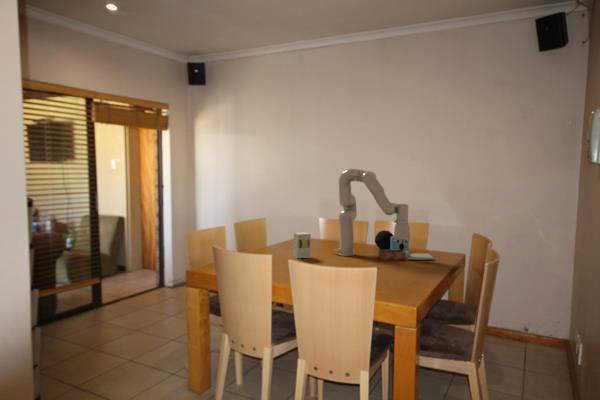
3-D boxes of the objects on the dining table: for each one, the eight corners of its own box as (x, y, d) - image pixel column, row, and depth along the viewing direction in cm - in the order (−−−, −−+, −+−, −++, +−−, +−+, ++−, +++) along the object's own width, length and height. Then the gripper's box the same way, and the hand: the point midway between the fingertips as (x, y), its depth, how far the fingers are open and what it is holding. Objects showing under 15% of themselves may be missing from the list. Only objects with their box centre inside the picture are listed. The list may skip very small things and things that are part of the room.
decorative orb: (368, 241, 318) (375, 226, 309) (384, 239, 324) (392, 225, 315) (377, 255, 308) (384, 240, 299) (393, 253, 314) (401, 239, 305)
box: (381, 260, 275) (381, 252, 275) (378, 256, 286) (378, 249, 286) (405, 260, 275) (405, 252, 274) (402, 256, 286) (402, 249, 285)
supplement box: (297, 259, 280) (297, 234, 278) (293, 256, 288) (293, 232, 287) (311, 258, 283) (310, 233, 281) (306, 255, 291) (306, 231, 290)
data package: (406, 252, 301) (406, 235, 301) (408, 253, 297) (408, 236, 296) (390, 252, 301) (390, 235, 300) (391, 253, 296) (392, 237, 295)
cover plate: (408, 260, 274) (408, 253, 274) (404, 256, 287) (404, 250, 286) (433, 260, 274) (433, 253, 273) (427, 256, 286) (427, 250, 286)
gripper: (391, 223, 275) (391, 250, 276) (414, 223, 275) (414, 251, 276) (389, 221, 282) (389, 248, 284) (412, 221, 282) (411, 248, 284)
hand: (401, 249), depth 280 cm, fingers closed
